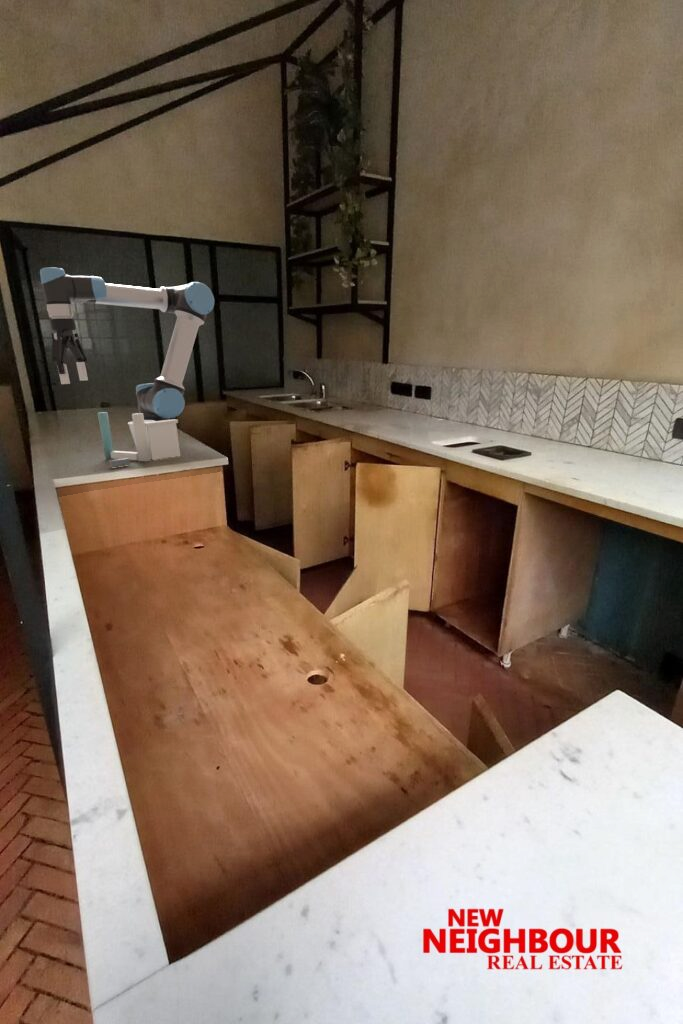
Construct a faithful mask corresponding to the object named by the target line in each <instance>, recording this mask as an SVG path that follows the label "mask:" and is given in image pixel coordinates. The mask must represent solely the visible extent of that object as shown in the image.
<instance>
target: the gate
mask: <svg viewBox="0 0 683 1024" xmlns="http://www.w3.org/2000/svg"><path fill="white" fill-rule="evenodd" d="M131 417H132V421H133V426H134V432H135V439H136V445H137V448H136V451H123V450H115V449H114V443H113V436H112V431H111V426H110V425H111V424H110V419H109V414H108V411H101V412H97V418H98V424H99V428H100V429H99V430H100V434H101V435H100V436H101V441H102V447H103V448H102V449H103V453H104V457H105V458H104V459H105V460H115V459H122V458H129V460H130V461H131V460H132V461H138V462H140V461H145V462H149V461H151V459H150V452H149V450H148V443H147V436H146V430H145V423H144V416H143V413H139V412H137V413H132V414H131ZM136 445H135V446H136ZM148 460H149V461H148Z"/></svg>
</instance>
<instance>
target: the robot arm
mask: <svg viewBox="0 0 683 1024" xmlns="http://www.w3.org/2000/svg"><path fill="white" fill-rule="evenodd" d="M39 275H40V282H41V287H42V290H43V296H44V300H45V305H46V311H47V312H48V317H49V318H50V319H49V322H50V327H51V330H52V331H53V332H52V333H51V340H52V342H51V343H52V344H51V362H52V364H53V365H56V367H57V371H58V375H59V379H60V384H61V385H68V384H69V385H70V384H71V381H70V375H69V371H68V366H67V363H65V361H66V355H67V349H68V348H69V350H70V352H71V353H72V355H73V357H74V359H75V360H76V362H75V365H76V369H77V373H78V378H79V379H78V380H79V381H80V382H81V381H89V378H88V372H87V368H86V363H85V362H88V357H87V354H86V353H85V350H84V348H83V345H82V343H81V340H80V338H79V337H80V336H79V333H77V332H73V331H76V330H77V327H76V321H75V319H74V318H73V317H74V315H75V314H74V311H73V307H72V303H75V304H82V303H83V304H96V305H109V306H118V307H119V306H120V307H130V308H131V307H132V308H143V309H154V310H160V311H161V312H162V313H167V314H168V313H169V314H175V316H176V321H175V325H174V327H173V332H172V335H171V338H170V342H169V345H168V349H167V352H166V355H165V358H164V361H163V365H162V369H161V373H160V375H159V376H158V377H156V378H154V380H153V381H154V382H149V383H141V384H138V385H136V386H135V391H136V392H135V395H136V398H137V399H136V400H137V407H138V413H143V416H144V420H154V421H163V420H170V419H173V418H176V417H178V416H180V414H181V413H183V412H184V411H183V410H184V409H185V405H186V403H185V398H184V394H185V387H184V385H183V381H184V379H185V375H186V372H187V368H188V366H189V362H190V359H191V355H192V352H193V347H194V344H195V341H196V338H197V334H198V330H199V327H200V326H202V325H204V324H205V321H206V319H207V316H208V315H207V314H210V312H212V311H213V309H214V306H215V297H214V294H213V292H212V290H211V288H210V287H208V285H206V284H205V283H203V282H199V281H191V282H189V283H185V284H181V285H176V286H160V287H159V288H152V287H143V286H133V285H126V284H116V283H115V284H114V283H106V282H105V280H104V278H102V277H101V276H94V275H90V276H89V275H70V274H67V273H66V272H65V269H64V268H61V267H43V268H42V267H41V269H40V270H39Z"/></svg>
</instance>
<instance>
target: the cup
mask: <svg viewBox="0 0 683 1024" xmlns="http://www.w3.org/2000/svg"><path fill="white" fill-rule="evenodd" d="M145 422H154V420H144V423H145ZM127 425H128V427H129V430H130V433H131V435H132V439H133V441H134V445H135V449H137V445H136V439H135V432H134V426H133V420H132V421H129V422H127ZM145 430H146V426H145ZM146 436H147V431H146ZM147 443H148V438H147ZM148 450H149V445H148Z"/></svg>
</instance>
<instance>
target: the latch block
mask: <svg viewBox="0 0 683 1024" xmlns="http://www.w3.org/2000/svg"><path fill="white" fill-rule="evenodd" d="M108 465H109V468H110V467H111V468H112V467H119V466H125V465H130V466H131V460H129V458H122V459H108ZM111 468H110V469H111Z"/></svg>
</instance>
